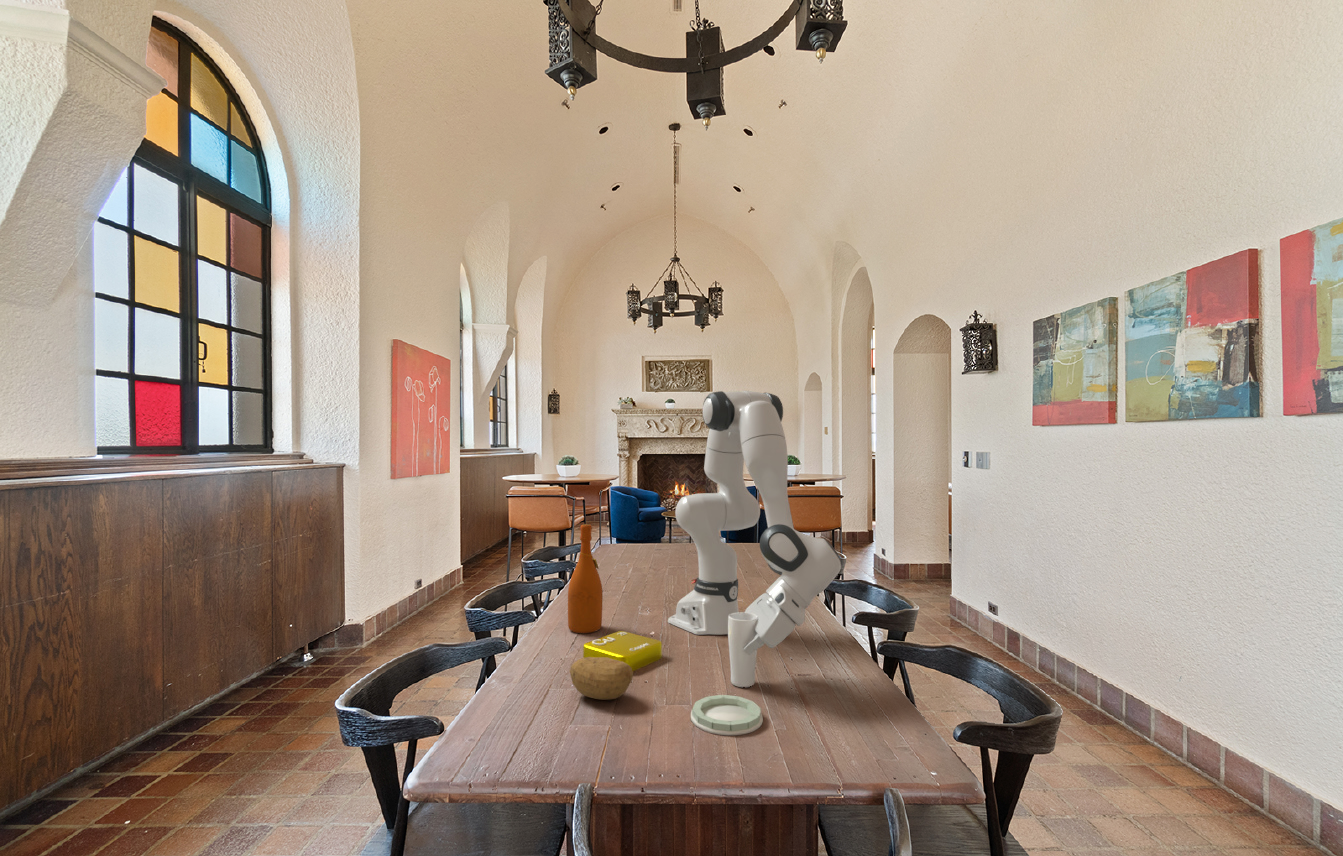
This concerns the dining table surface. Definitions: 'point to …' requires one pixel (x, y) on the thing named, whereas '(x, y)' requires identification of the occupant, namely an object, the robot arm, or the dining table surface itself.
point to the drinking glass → (741, 648)
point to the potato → (601, 677)
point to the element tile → (625, 649)
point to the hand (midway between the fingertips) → (741, 644)
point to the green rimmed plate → (726, 715)
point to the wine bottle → (585, 590)
